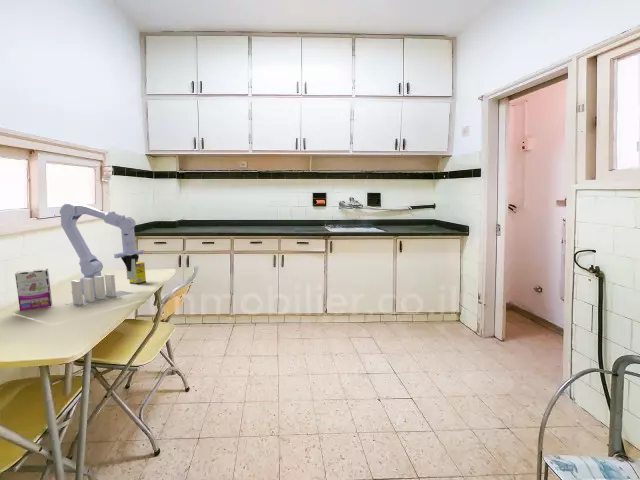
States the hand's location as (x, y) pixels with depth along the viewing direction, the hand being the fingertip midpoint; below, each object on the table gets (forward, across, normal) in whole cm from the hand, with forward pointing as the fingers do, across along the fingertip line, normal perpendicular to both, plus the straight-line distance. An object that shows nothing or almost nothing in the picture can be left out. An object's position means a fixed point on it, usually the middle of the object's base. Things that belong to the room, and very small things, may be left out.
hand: (131, 270), depth 201 cm
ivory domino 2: (+10, -21, 0) cm, 23 cm away
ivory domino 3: (+10, -16, 0) cm, 19 cm away
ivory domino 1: (+10, -26, 0) cm, 28 cm away
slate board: (+10, -16, 0) cm, 19 cm away
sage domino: (+4, 0, 0) cm, 4 cm away
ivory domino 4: (+10, -11, 0) cm, 15 cm away
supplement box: (+10, +13, +16) cm, 23 cm away
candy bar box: (+10, -38, +11) cm, 41 cm away
